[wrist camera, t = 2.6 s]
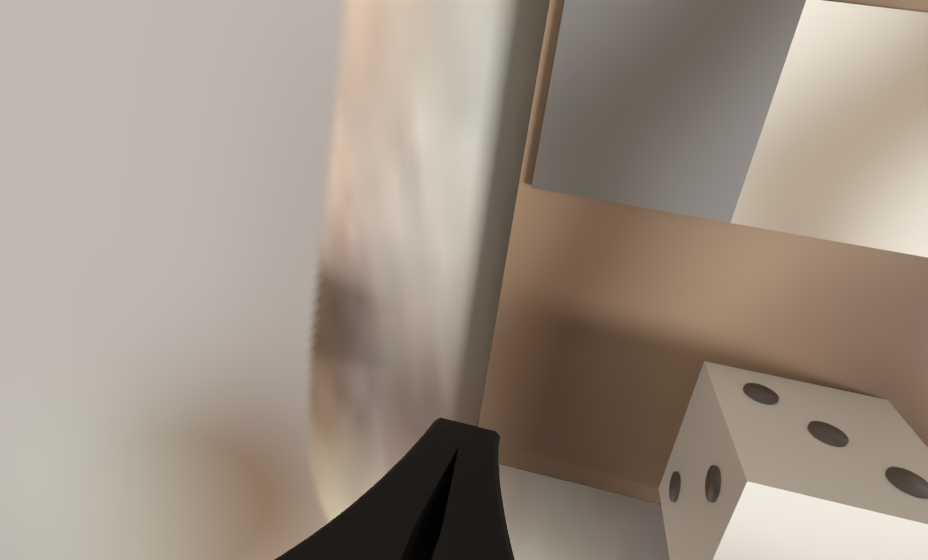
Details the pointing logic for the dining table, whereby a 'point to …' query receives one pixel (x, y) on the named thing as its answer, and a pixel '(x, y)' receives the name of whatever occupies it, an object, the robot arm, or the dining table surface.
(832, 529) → the die
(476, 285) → the dining table surface
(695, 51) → the board
